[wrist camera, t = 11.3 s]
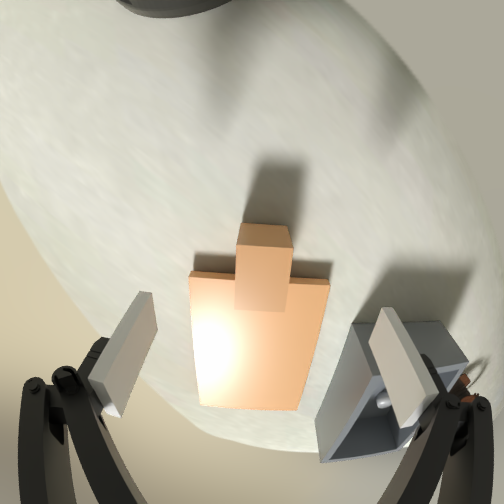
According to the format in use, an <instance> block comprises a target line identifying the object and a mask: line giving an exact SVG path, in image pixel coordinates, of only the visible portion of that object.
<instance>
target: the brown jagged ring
mask: <svg viewBox="0 0 504 504" xmlns="http://www.w3.org/2000/svg"><path fill="white" fill-rule="evenodd" d="M469 383H470V379H469V378H468V377H467V375H466V374H463V375H462V376H460V377H459V378H458V380H457V381H456V383H455V384H454V385H453V387H452V388H451V390H450V391H449V392H448V393H449V394H454V395H455V396H457V397H458V398H459V399H460V401H461V402H472V401H473V400H474V399H475V398H476V397H478V396H479V393H477V395H476V393H474V395H470V392H469V391H468V390H467V389H466V386H467V385H468V384H469Z"/></svg>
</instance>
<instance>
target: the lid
mask: <svg viewBox="0 0 504 504" xmlns="http://www.w3.org/2000/svg"><path fill="white" fill-rule="evenodd" d="M292 256H293V245H292V241H291V238H290V234H289V231H288V227H287V226H281V225H267V224H251V223H241V225H240V230H239V235H238V239H237V244H236V269H235V274H228V273H214V272H200V271H191V273H190V275H189V294H190V309H191V322H192V334H193V345H194V355H195V365H196V374H197V382H198V391H199V398H200V405H204V406H213V407H223V408H235V409H251V410H297V408H298V405H299V402H300V399H301V396H302V393H303V389H304V386H305V383H306V379H307V376H308V373H309V369H310V366H311V362H312V358H313V355H314V351H315V347H316V344H317V340H318V336H319V332H320V328H321V324H322V320H323V316H324V311H325V307H326V303H327V298H328V294H329V289H330V284H329V281H328V279H313V278H294V277H290V272H291V264H292Z"/></svg>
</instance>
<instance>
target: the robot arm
mask: <svg viewBox="0 0 504 504" xmlns="http://www.w3.org/2000/svg"><path fill="white" fill-rule="evenodd" d="M116 1H117V2H119V3H120V4H121V5H123V6H124V7H125V8H126V9H128V10H129V11H131V12H133V13H135V14H138V15H141V16H146V17H152V18H175V17H183V16H189V15H193V14H197V13H201V12H204V11H207V10H210V9H213V8H216V7H218V6H221V5H223V4H225V3H227V2H229V1H231V0H116ZM157 331H158V328H157V323H156V317H155V311H154V304H153V297H152V293H150V292H142V291H139V293H138V294H137V296H136V297H135V299H134V301H133V302H132V304H131V305H130V307H129V308H128V310H127V312H126V313H125V315H124V316H123V318H122V320H121V321H120V323H119V325H118V326H117V328H116V330H115V331H114V333H113V335H112V336H111V338H105V337H101V338H100V339H99V340H97V341H96V342H95V343H94V344H93V346H92V347H91V349H90V351H89V352H88V354H87V357H85V359H84V361H83V362H82V364H81V366H80V367H79V369H78V371H76V369H75V368H73V367H71V366H62V367H60V368H58V369H57V370H55V371H54V373H53V375H52V382H53V384H54V385H46V384H45V382H44V381H43V379H41V378H39V377H34V378H30V379H29V380H27V381H26V383H25V384H24V387H23V392H22V400H21V409H20V419H19V436H18V474H19V475H18V476H19V490H20V501H21V504H77V503H76V499H75V493H74V487H73V481H72V474H71V467H70V457H69V445H68V430H67V425H68V428H69V431H70V434H71V438H72V440H73V443H74V446H75V449H76V452H77V455H78V457H79V460H80V463H81V465H82V468H83V470H84V472H85V475H86V477H87V480H88V482H89V484H90V486H91V489H92V491H93V493H94V495H95V497H96V499H97V501H98V503H99V504H147V502H146V501H145V499H144V497H143V496H142V494H141V492H140V491H139V489H138V487H137V486H136V484H135V483H134V481H133V479H132V477H131V475H130V473H129V472H128V470H127V468H126V466H125V464H124V462H123V460H122V458H121V456H120V454H119V452H118V451H117V448H116V446H115V444H114V442H113V440H112V438H111V436H110V433H109V431H108V429H107V426H106V424H105V422H104V419H103V417H102V415H101V412H102V410H103V408H104V409H105V411H106V413H107V414H109V415H113V416H116V417H119V418H121V417H122V415H123V412H124V410H125V407H126V404H127V402H128V399H129V397H130V394H131V392H132V389H133V387H134V384H135V382H136V380H137V377H138V375H139V372H140V370H141V368H142V365H143V363H144V360H145V358H146V356H147V353H148V351H149V349H150V346H151V344H152V342H153V340H154V337H155V335H156V333H157ZM369 345H370V347H371V350H372V352H373V355H374V357H375V360H376V363H377V365H378V368H379V370H380V373H381V376H382V378H383V381H384V384H385V386H386V389H387V392H388V395H389V398H390V400H391V403H392V406H393V409H394V412H395V415H396V418H397V421H398V424H399V427H400V428H404V427H409V426H412V425H413V424H414V423H415V422H416V421H417V420H418V421H419V423H420V425H419V426H418V427H417V428H416V429H415V430H414V431H413V432H412V433H411V435H410V436H412V435H413V434H414V433H415V434H414V436H413V438H412V440H411V443H410V445H409V447H408V449H407V451H406V454H405V455H404V457H403V459H402V461H401V463H400V465H399V467H398V469H397V471H396V473H395V475H394V476H393V478H392V480H391V482H390V483H389V485H388V487H387V488H386V490H385V492H384V493H383V495H382V497H381V498H380V500H379V501H378V503H377V504H429V502H430V500H431V498H432V496H433V494H434V491H435V489H436V487H437V484H438V482H439V480H440V477H441V475H442V472H443V475H442V482H441V488H440V493H439V498H438V503H437V504H491V497H492V487H493V471H494V470H493V469H494V440H493V422H492V411H491V405H490V402H489V401H488V400H487V399H486V398H485V397H482V396H478V397H476V398H475V399H474V400H473V401H472V402H461V401H460V399H459V398H458V397H457V396H455V395H454V394H449V393H448V391H447V389H446V387H445V385H444V383H443V382H442V380H441V378H440V376H439V374H438V372H437V370H436V368H435V366H434V365H433V363H432V361H431V359H430V358H429V357H427V356H426V355H425V354H419V352H418V350H417V349H416V347H415V345H414V343H413V341H412V340H411V338H410V336H409V334H408V332H407V331H406V329H405V327H404V326H403V324H402V322H401V320H400V319H399V317H398V315H397V314H396V312H395V310H394V309H393V307H382V308H381V311H380V314H379V316H378V319H377V322H376V324H375V327H374V329H373V332H372V334H371V337H370V339H369Z"/></svg>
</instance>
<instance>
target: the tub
mask: <svg viewBox="0 0 504 504" xmlns="http://www.w3.org/2000/svg"><path fill="white" fill-rule="evenodd" d="M375 324H376V323H352V325H351V328H350V331H349V334H348V337H347V340H346V343H345V346H344V348H343V351H342V354H341V357H340V360H339V362H338V365H337V368H336V370H335V373H334V376H333V378H332V381H331V383H330V386H329V388H328V391H327V393H326V395H325V398H324V400H323V403H322V405H321V407H320V410H319V412H318V414H317V416H316V419H315V427H316V434H317V441H318V449H319V456H320V463H327V462H337V461H345V460H352V459H359V458H365V457H371V456H376V455H381V454H386V453H391V452H395V451H399V450H400V449H401V448H402V447H403V446H404V445H405V444H406V443H407V442H408V441H409V440H410V439H411V438H412V437H413V436H414V434H415V433H414V434H413V435H412V436H410V435H411V433H412V432H413V431H414V430H415V429H416V428H417V427H418V426H419V425H420V423H419V421H418V420H417V421H416V422H415V423H414V424H413V425H412V426H409V427H404V428H400V427H399V424H398V421H397V418H396V415H395V412H394V409H393V406H392V403H391V400H390V398H389V395H388V392H387V389H386V386H385V384H384V381H383V378H382V376H381V373H380V370H379V368H378V365H377V363H376V360H375V357H374V355H373V352H372V350H371V347H370V345H369V339H370V337H371V334H372V332H373V329H374V327H375ZM402 324H403V326H404V327H405V329H406V331H407V332H408V334H409V336H410V338H411V340H412V341H413V343H414V345H415V347H416V349H417V350H418V352H419V354H425V355H426V356H427V357H429V358H430V359H431V361H432V363H433V365H434V366H435V368H436V370H437V372H438V374H439V376H440V378H441V380H442V382H443V383H444V385H445V387H446V389H447V391H448V392H449V391H450V390H451V388H452V387H453V385H454V384H455V383H456V381H457V380H458V378H459V377H460V375H461V374H462V372H463V371H464V369H465V367H466V366H467V364H468V363H469V361H468V359H467V358H466V356H465V355H464V353H463V352H462V350H461V349H460V348H459V346H458V345H457V343H456V342H455V341H454V339H453V338H452V336H451V335H450V334H449V332H448V331H447V330H446V328H445V327H444V326H443V324H442V323H441V322H440V321H429V322H407V323H402Z"/></svg>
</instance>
